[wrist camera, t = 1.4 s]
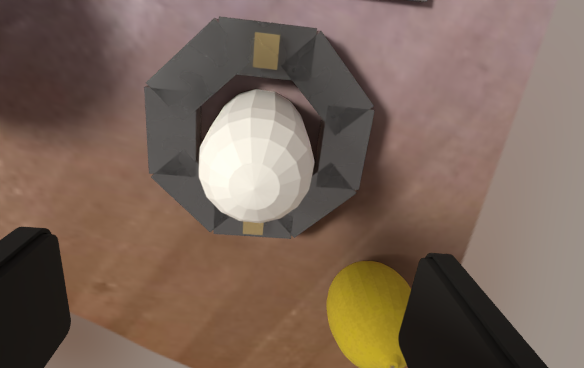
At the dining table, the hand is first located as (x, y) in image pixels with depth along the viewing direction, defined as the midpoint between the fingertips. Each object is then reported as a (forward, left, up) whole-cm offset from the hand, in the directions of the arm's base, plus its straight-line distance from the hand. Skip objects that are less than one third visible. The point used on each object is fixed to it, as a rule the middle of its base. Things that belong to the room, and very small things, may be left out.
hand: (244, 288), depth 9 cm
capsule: (-1, 0, -13) cm, 13 cm away
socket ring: (-1, 0, -13) cm, 13 cm away
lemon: (+9, +8, -13) cm, 18 cm away
